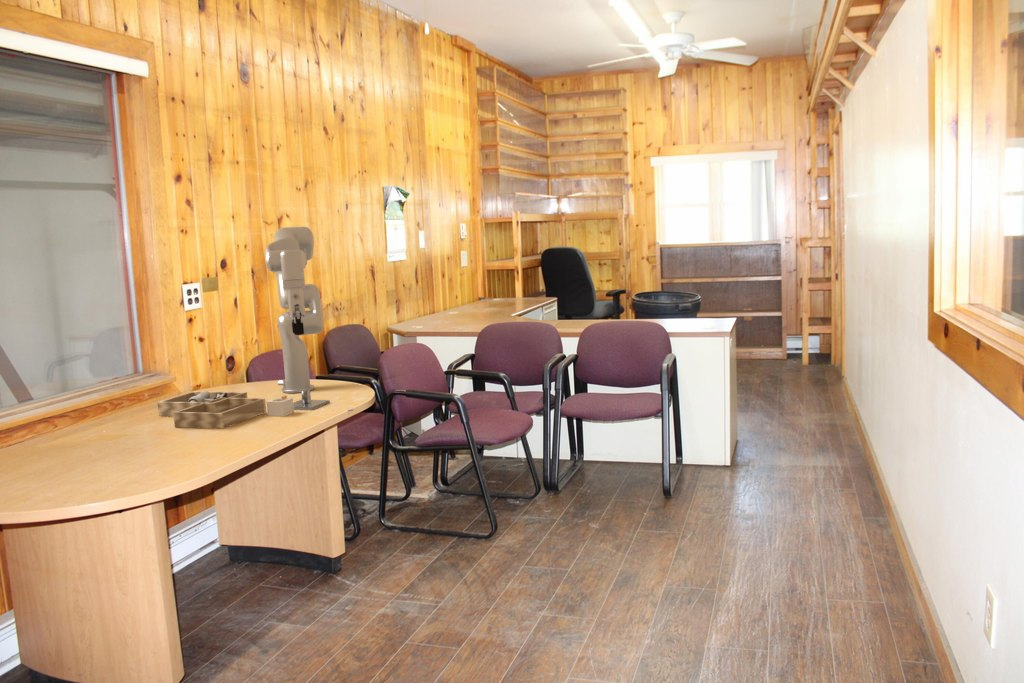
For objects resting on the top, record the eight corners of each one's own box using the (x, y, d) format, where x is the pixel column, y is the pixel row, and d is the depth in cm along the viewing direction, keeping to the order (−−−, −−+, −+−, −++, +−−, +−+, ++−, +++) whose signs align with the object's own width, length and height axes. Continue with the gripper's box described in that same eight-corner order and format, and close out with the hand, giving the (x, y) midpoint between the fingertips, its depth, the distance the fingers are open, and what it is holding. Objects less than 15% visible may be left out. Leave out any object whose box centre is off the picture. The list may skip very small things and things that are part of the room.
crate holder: (158, 415, 298) (157, 402, 297) (194, 404, 315) (193, 391, 315) (214, 417, 290) (213, 403, 289) (248, 405, 308) (246, 392, 307)
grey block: (267, 415, 288) (266, 399, 287) (279, 411, 294) (277, 395, 293) (283, 416, 286) (282, 399, 285) (294, 412, 292) (293, 395, 291)
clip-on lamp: (206, 423, 294) (231, 401, 311) (204, 407, 292) (229, 385, 308) (175, 420, 296) (201, 399, 312) (173, 404, 293) (199, 383, 310)
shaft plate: (282, 409, 298) (281, 394, 297) (301, 402, 309) (300, 387, 308) (311, 410, 294) (310, 394, 293) (329, 402, 305) (328, 388, 304)
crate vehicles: (174, 427, 278) (173, 412, 277) (221, 411, 300) (220, 397, 300) (222, 428, 272) (220, 413, 271) (266, 412, 294) (264, 398, 293)
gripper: (306, 284, 284) (311, 334, 286) (303, 284, 301) (307, 331, 302) (284, 286, 282) (288, 336, 284) (281, 285, 298) (286, 333, 300)
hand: (298, 333), depth 293 cm, fingers open, 9 cm apart
